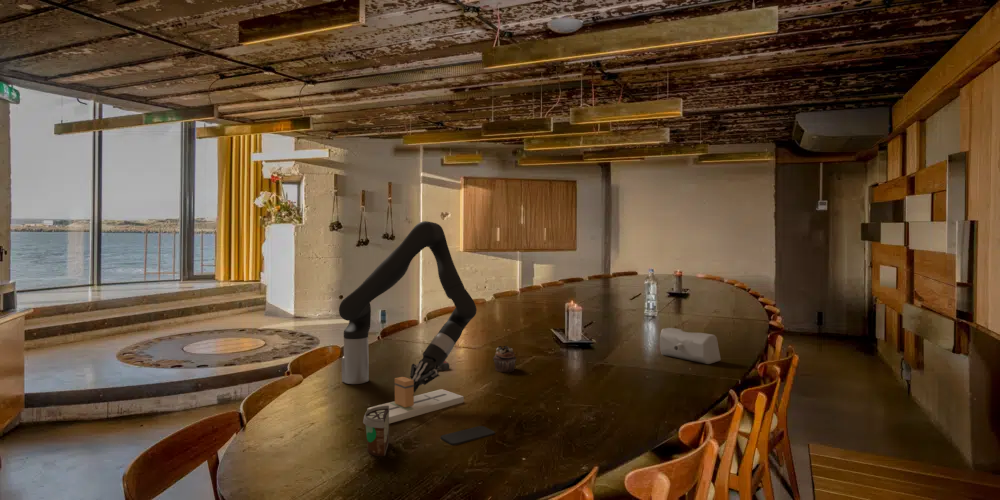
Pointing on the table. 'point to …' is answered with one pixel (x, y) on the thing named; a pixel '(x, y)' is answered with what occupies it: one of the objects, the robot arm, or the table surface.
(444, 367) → the walkie-talkie
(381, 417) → the food container
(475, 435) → the phone
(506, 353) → the cupcake
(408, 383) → the fader tab
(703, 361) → the grey faceted block
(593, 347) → the table surface
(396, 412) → the white slider board
